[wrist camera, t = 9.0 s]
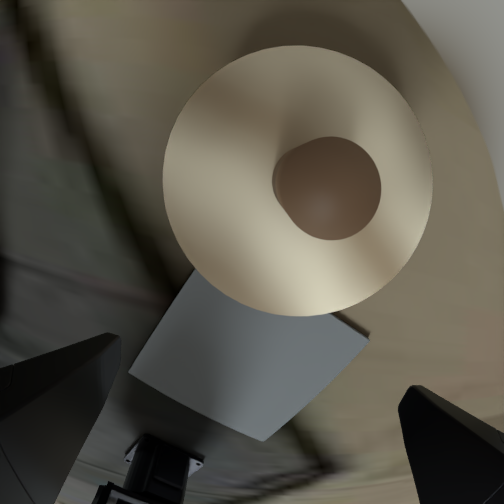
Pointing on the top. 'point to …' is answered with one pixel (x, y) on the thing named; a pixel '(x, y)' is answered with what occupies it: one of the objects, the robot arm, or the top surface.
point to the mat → (243, 358)
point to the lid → (297, 180)
